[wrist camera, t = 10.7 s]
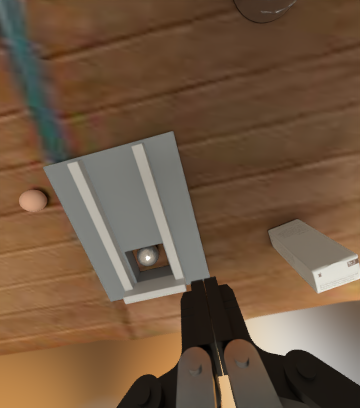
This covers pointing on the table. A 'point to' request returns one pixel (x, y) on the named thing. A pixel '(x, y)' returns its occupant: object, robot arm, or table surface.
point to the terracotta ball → (33, 200)
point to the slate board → (133, 216)
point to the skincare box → (315, 255)
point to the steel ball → (148, 255)
